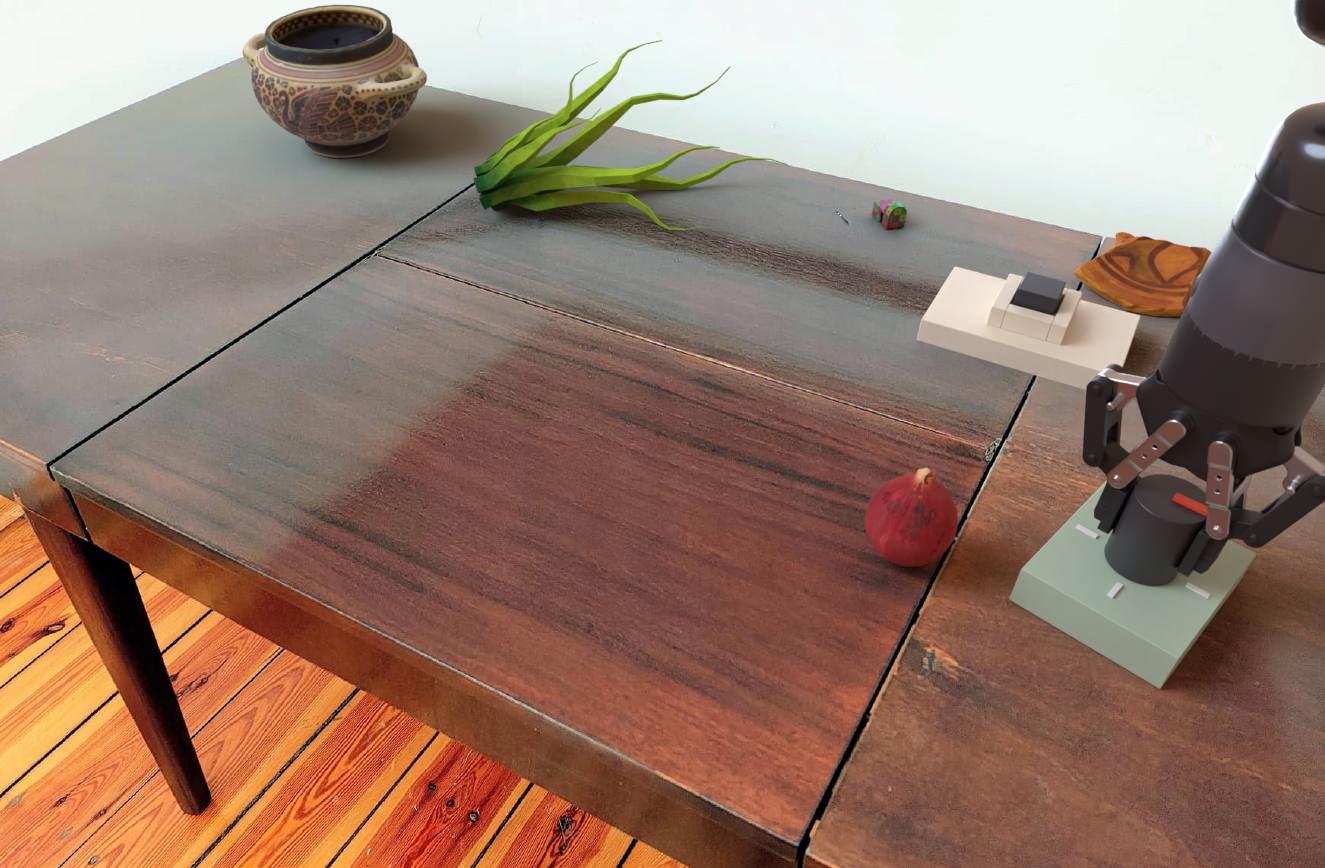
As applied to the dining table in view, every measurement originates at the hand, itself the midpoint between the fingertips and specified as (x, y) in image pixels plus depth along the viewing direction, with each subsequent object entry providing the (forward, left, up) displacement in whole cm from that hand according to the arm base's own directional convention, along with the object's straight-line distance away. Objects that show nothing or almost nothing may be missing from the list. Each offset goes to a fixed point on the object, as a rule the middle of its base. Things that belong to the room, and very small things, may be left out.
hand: (1147, 544), depth 65 cm
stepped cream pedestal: (-22, -19, -5) cm, 29 cm away
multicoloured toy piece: (-31, -39, -5) cm, 50 cm away
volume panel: (0, 0, -5) cm, 5 cm away
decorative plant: (-16, -61, -5) cm, 63 cm away
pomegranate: (+8, -12, -5) cm, 15 cm away
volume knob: (0, 0, -1) cm, 1 cm away
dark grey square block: (-22, -19, -1) cm, 29 cm away
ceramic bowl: (-3, -93, -5) cm, 93 cm away
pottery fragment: (-37, -16, -5) cm, 41 cm away
